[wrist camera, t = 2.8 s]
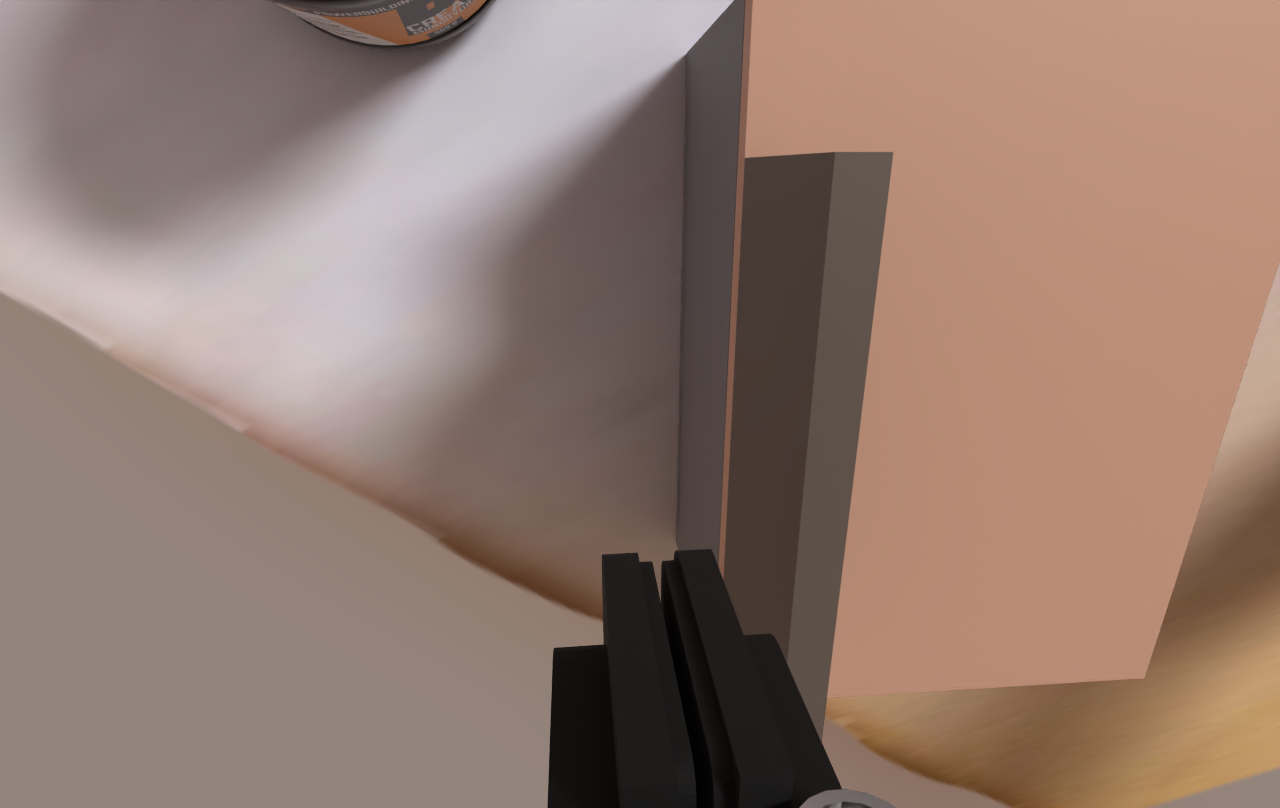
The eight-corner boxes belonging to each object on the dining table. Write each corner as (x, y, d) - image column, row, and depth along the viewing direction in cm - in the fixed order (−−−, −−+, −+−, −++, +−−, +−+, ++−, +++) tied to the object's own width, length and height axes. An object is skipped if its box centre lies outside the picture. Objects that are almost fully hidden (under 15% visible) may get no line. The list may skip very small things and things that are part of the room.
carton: (1071, 58, 27) (1329, 0, 18) (978, 527, 35) (1125, 661, 25) (686, 53, 26) (745, -12, 16) (675, 540, 33) (712, 686, 24)
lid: (1333, -1, 18) (1811, -108, 11) (1127, 662, 25) (1332, 849, 18) (746, -14, 16) (863, -144, 10) (712, 688, 24) (765, 897, 17)
